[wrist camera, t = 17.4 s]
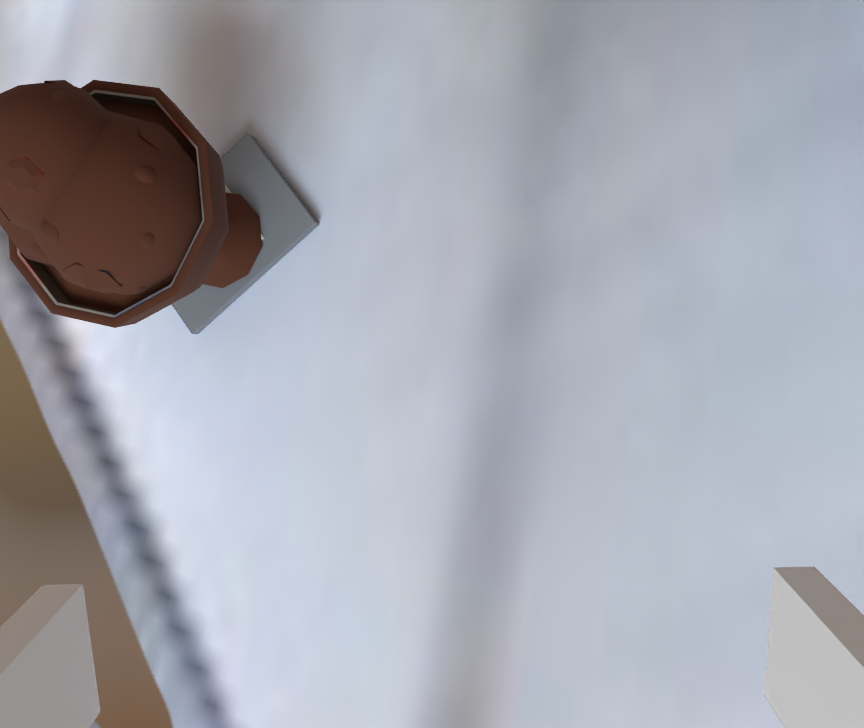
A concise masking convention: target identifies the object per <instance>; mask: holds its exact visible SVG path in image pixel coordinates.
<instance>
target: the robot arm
mask: <svg viewBox="0 0 864 728" xmlns="http://www.w3.org/2000/svg"><path fill="white" fill-rule="evenodd" d="M764 697H765V698H766V700H767V702H768V703H769V705H770V706H771V708H772V709H773V711H774V712H775V714H776V715H777V717H778V718H779V720H780V722H781V723H782V725H783V726H784V728H864V615H863V614H862V613H861V612H860V611H859V610H858V609H857V608H856V607H855V606H854V605H853V604H852V603H851V602H850V601H849V600H848V599H847V598H846V597H845V596H844V595H842V594H841V593H840V592H839V591H838V590H837V589H836V588H835V587H834V586H833V585H832V584H831V583H830V582H829V581H828V580H827V579H826V578H825V577H824V576H823V575H822V574H821V573H820V572H819V571H818V570H817V569H816V568H815V567H780V568H773V582H772V596H771V610H770V624H769V638H768V652H767V666H766V680H765V694H764ZM99 712H100V706H99V698H98V691H97V684H96V676H95V669H94V662H93V655H92V648H91V641H90V633H89V626H88V619H87V612H86V605H85V597H84V590H83V584H75V585H73V584H71V585H43V586H42V587H41V588H40V589H39V590H38V591H37V592H36V593H35V594H34V595H32V597H31V598H30V599H28V600H27V601H26V602H25V603H24V604H23V605H22V606H21V607H20V608H19V609H18V610H17V611H16V613H14V614H13V615H12V616H11V617H10V618H9V619H8V620H7V621H6V622H5V624H3V625H2V626H1V627H0V728H90V726H91V725H92V723H93V722H94V720H95V719H96V717H97V715H98V714H99Z"/></svg>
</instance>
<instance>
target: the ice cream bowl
mask: <svg viewBox="0 0 864 728" xmlns="http://www.w3.org/2000/svg"><path fill="white" fill-rule="evenodd" d="M0 225H1V226H2V228H3V229H4V230H5V232H6V233H7V235H8V237H9V249H10V259H11V261H12V262H13V263H14V265H15V266H16V267H17V268H18V270H19V271H20V272H21V274H22V275H23V276H24V278H25V279H26V280H27V282H28V283H29V284H30V286H31V287H32V288H33V290H34V291H35V292H36V293H37V295H38V296H39V297H40V299H41V300H42V301H43V303H44V304H45V305H46V307H47V308H48V309H49V311H50V312H51V313H53V314H57V315H61V316H66V317H70V318H75V319H79V320H83V321H88V322H92V323H97V324H101V325H106V326H110V327H114V328H116V327H121V326H126V325H130V324H135V323H137V322H139V321H141V320H143V319H145V318H146V317H148V316H150V315H152V314H154V313H156V312H158V311H159V310H161V309H163V308H165V307H167V306H169V305H171V304H172V303H174V302H176V301H178V300H180V299H182V298H183V297H185V296H187V295H189V294H191V293H193V292H194V291H195V290H197V289H198V288H200V287H201V285H202V284H204V285H209V286H214V287H219V288H224V287H226V286H228V285H230V284H232V283H234V282H235V281H237V280H239V279H241V278H243V277H245V276H247V275H248V274H249V272H250V270H251V268H252V266H253V264H254V262H255V260H256V258H257V256H258V254H259V252H260V250H261V248H262V240H261V229H260V219H259V215H258V214H257V213H256V212H255V211H254V210H253V208H252V207H251V206H250V205H249V204H248V203H247V201H246V200H245V199H244V198H243V197H242V196H241V195H240V194H234V193H227V192H225V182H224V171H223V166H222V163H221V160H220V157H219V155H218V153H217V152H216V151H215V150H214V149H213V148H212V146H211V145H210V144H209V143H208V142H207V141H206V139H205V138H204V137H203V136H202V135H201V134H200V133H199V131H198V130H197V129H196V128H195V127H194V126H193V124H192V123H191V122H190V121H189V120H188V119H187V117H186V116H185V115H184V114H183V113H182V112H181V111H180V109H179V108H178V107H177V106H176V105H175V104H174V103H173V102H172V101H171V100H170V99H169V98H168V97H167V96H166V95H165V94H164V93H163V92H162V91H161V89H160V88H154V87H146V86H138V85H130V84H122V83H114V82H106V81H98V80H93V81H91V82H90V83H88V84H87V85H85V86H84V87H82V88H78V87H75V86H73V85H71V84H70V83H68V82H67V81H65V80H58V81H45V82H44V83H38V84H28V85H19V86H17V87H14V88H12V89H10V90H8V91H5V92H3V93H1V94H0Z"/></svg>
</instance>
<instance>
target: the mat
mask: <svg viewBox="0 0 864 728" xmlns="http://www.w3.org/2000/svg"><path fill="white" fill-rule="evenodd" d="M220 160H221V163H222V166H223V171H224V182H225V192H227V193H234V194H240V195H241V196H242V197H243V198H244V199H245V200H246V201H247V203H248V204H249V205H250V206H251V207H252V208H253V210H254V211H255V212H256V213H257V214H258V215H259V219H260V229H261V240H262V248H261V250H260V252H259V254H258V256H257V258H256V260H255V262H254V264H253V266H252V268H251V270H250V272H249V274H248V275H247V276H245V277H243V278H241V279H239V280H237V281H235V282H234V283H232V284H230V285H228V286H226V287H224V288H219V287H214V286H209V285H204V284H202V285H201V287H200V288H198V289H197V290H195V291H194V292H193V293H191V294H189V295H187V296H185V297H183V298H182V299H180V300H178V301H176V302H174V303H172V306H173V307H174V309H175V310H176V311H177V313H178V314H179V316H180V317H181V319H182V320H183V322H184V323H185V324H186V326H187V327H188V329H189V330H190V332H191V333H192V334H198V333H200V332H201V331H202V330H203V329H204V328H205V327H206V326H207V325H208V324H210V323H211V322H212V321H213V320H214V319H215V318H216V317H217V316H218V315H220V314H221V313H222V312H223V311H224V310H225V309H226V308H227V307H228V306H229V305H231V304H232V303H233V302H234V301H235V300H236V299H237V298H238V297H239V296H241V295H242V294H243V293H244V292H245V291H246V290H247V289H248V288H249V287H250V286H252V285H253V284H254V283H255V282H256V281H257V280H258V279H259V278H260V277H262V276H263V275H264V274H265V273H266V272H267V271H268V270H269V269H270V268H272V267H273V266H274V265H275V264H276V263H277V262H278V261H279V260H280V259H281V258H283V257H284V256H285V255H286V254H287V253H288V252H289V251H290V250H291V249H293V248H294V247H295V246H296V245H297V244H298V243H299V242H300V241H301V240H303V239H304V238H305V237H306V236H307V235H308V234H309V233H310V232H311V231H312V230H314V229H315V228H316V227H317V226H318V225H319V223H318V222H317V221H316V219H315V218H314V217H313V215H312V214H311V213H310V211H309V210H308V209H307V207H306V206H305V205H304V203H303V202H302V201H301V199H300V198H299V197H298V196H297V194H296V193H295V192H294V190H293V189H292V188H291V186H290V185H289V184H288V182H287V181H286V180H285V178H284V177H283V176H282V174H281V173H280V172H279V170H278V169H277V168H276V166H275V165H274V164H273V163H272V161H271V160H270V159H269V157H268V156H267V155H266V153H265V152H264V151H263V149H262V148H261V147H260V145H259V144H258V143H257V141H256V140H255V139H254V137H253V136H251V135H249V134H248V133H247V134H246V135H245V136H244V137H243V138H242V139H241V140H240V141H239V142H238V143H237V144H236V145H235V146H234V147H233V148H232V149H231V150H230V151H229V152H228V153H227V154H226V155H224V156H223V157H222V158H221V159H220Z"/></svg>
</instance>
